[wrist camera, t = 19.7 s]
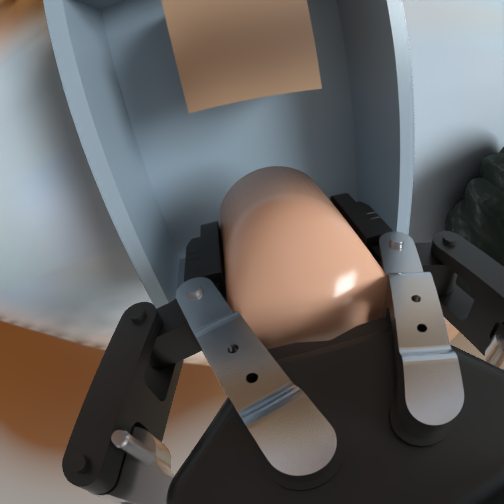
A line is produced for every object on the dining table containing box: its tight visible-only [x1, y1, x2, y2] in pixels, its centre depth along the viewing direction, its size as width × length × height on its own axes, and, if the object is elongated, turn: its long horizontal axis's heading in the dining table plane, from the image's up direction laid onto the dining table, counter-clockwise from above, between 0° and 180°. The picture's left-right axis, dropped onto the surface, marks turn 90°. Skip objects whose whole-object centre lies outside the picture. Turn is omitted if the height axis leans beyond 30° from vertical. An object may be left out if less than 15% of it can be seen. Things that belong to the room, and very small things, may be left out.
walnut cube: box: [161, 0, 322, 113], centre depth 11 cm, size 5×5×5 cm
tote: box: [43, 0, 414, 309], centre depth 13 cm, size 18×14×6 cm
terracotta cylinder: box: [219, 166, 388, 349], centre depth 11 cm, size 5×5×7 cm
